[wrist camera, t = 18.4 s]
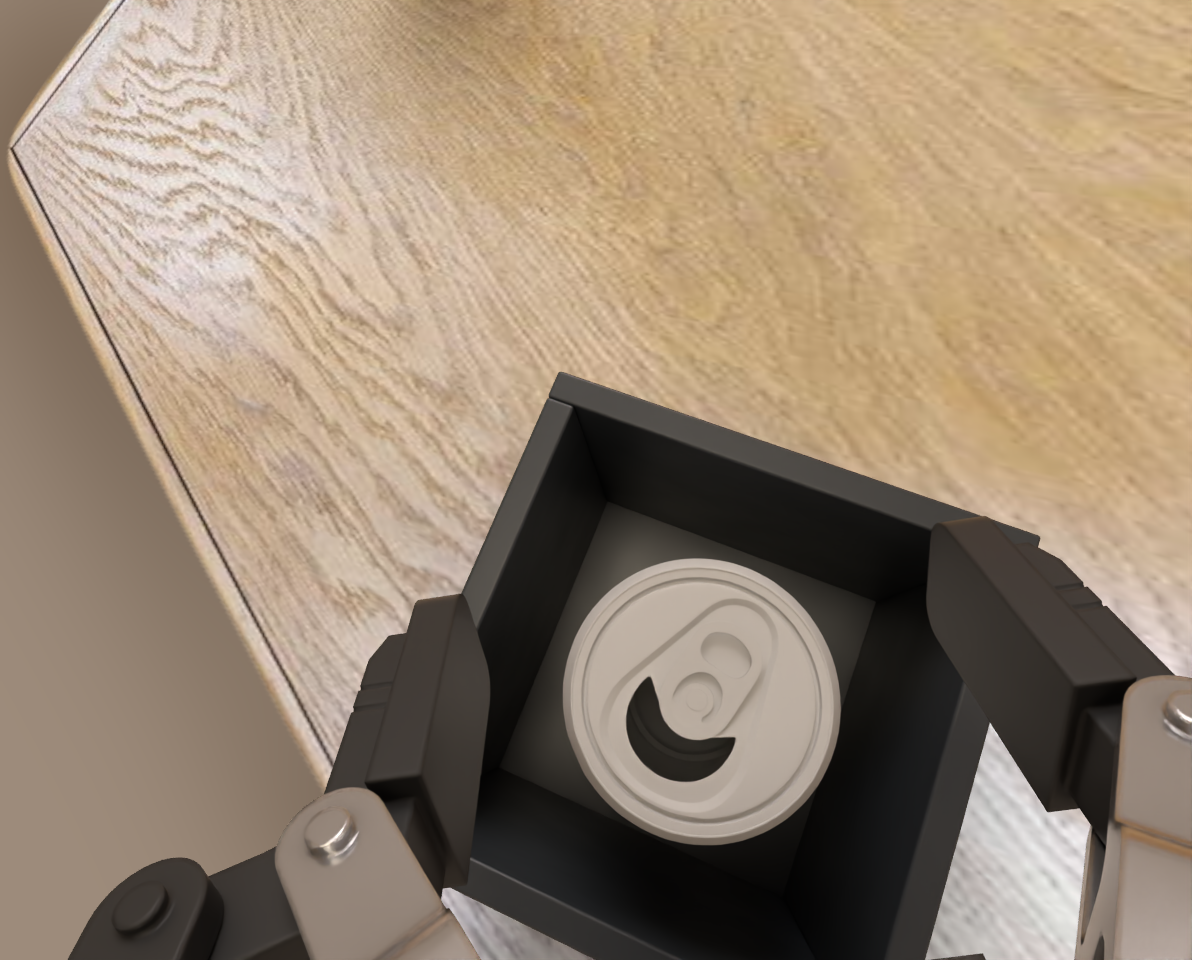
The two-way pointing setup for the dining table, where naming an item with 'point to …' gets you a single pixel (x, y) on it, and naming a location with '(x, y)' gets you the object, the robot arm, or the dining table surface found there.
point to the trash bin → (850, 629)
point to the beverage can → (701, 701)
